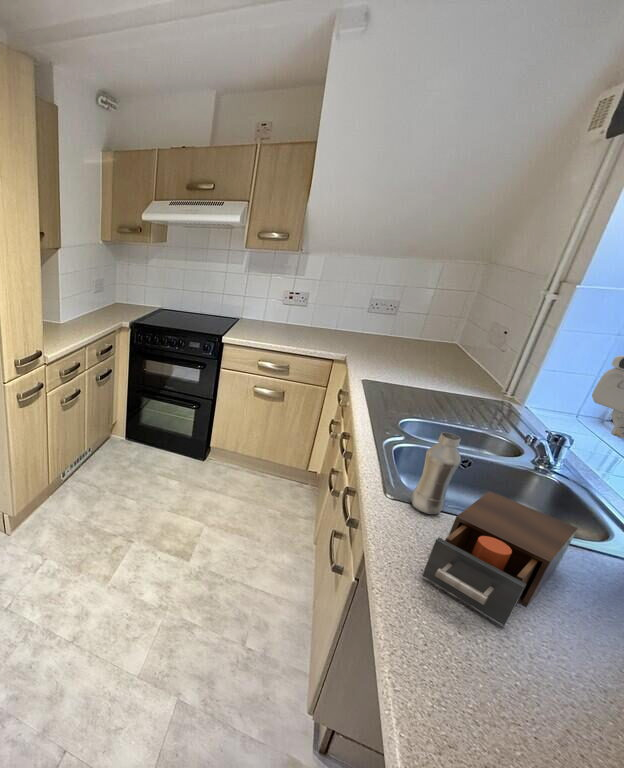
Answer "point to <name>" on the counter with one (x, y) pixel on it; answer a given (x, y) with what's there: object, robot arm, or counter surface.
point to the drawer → (479, 574)
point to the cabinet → (520, 534)
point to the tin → (492, 551)
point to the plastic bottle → (437, 474)
